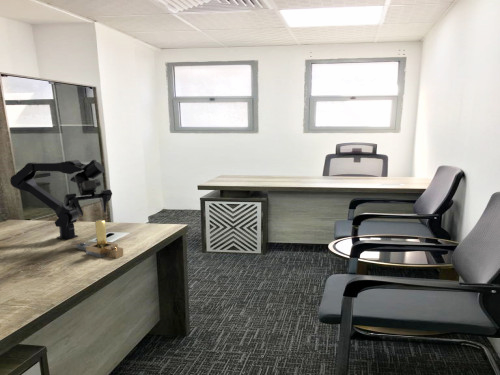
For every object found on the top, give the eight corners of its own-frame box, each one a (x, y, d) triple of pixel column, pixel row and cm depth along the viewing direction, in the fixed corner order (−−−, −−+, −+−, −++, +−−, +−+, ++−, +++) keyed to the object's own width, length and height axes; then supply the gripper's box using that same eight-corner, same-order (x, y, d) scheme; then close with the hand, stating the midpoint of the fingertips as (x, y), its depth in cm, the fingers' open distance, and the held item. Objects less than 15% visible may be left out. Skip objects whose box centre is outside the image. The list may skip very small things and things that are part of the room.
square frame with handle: (70, 249, 152) (70, 241, 151) (88, 244, 159) (88, 236, 158) (110, 260, 140) (110, 251, 139) (128, 253, 147) (127, 245, 147)
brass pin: (95, 253, 148) (93, 221, 146) (103, 250, 151) (101, 219, 149) (101, 254, 146) (99, 222, 144) (109, 252, 149) (107, 220, 147)
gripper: (63, 174, 151) (73, 205, 145) (109, 171, 163) (120, 199, 157) (60, 191, 159) (69, 221, 152) (104, 186, 171) (114, 214, 164)
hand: (94, 213), depth 156 cm, fingers open, 9 cm apart
